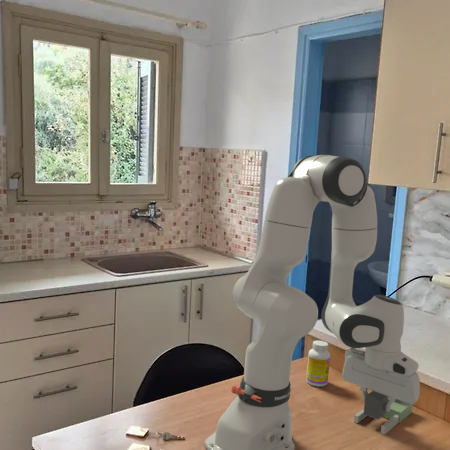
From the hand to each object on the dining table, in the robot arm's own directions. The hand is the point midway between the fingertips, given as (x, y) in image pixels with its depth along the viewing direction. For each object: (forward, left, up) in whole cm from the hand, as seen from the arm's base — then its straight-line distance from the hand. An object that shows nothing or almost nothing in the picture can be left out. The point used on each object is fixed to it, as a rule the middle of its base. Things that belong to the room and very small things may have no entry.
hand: (376, 406), depth 137 cm
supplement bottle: (+10, +24, -5) cm, 26 cm away
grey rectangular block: (0, 0, -2) cm, 2 cm away
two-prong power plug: (+5, 0, -5) cm, 7 cm away
